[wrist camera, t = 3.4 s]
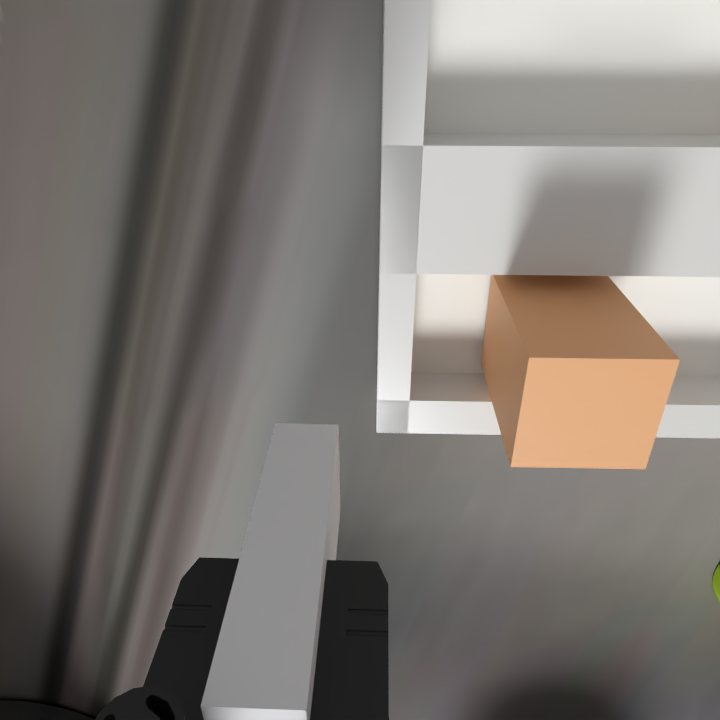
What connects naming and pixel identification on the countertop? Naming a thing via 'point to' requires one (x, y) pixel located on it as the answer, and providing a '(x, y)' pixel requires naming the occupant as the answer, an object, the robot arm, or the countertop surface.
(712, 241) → the grey compartment tray
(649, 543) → the countertop surface
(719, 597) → the soap dispenser
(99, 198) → the countertop surface
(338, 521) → the robot arm
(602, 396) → the orange rectangular block
